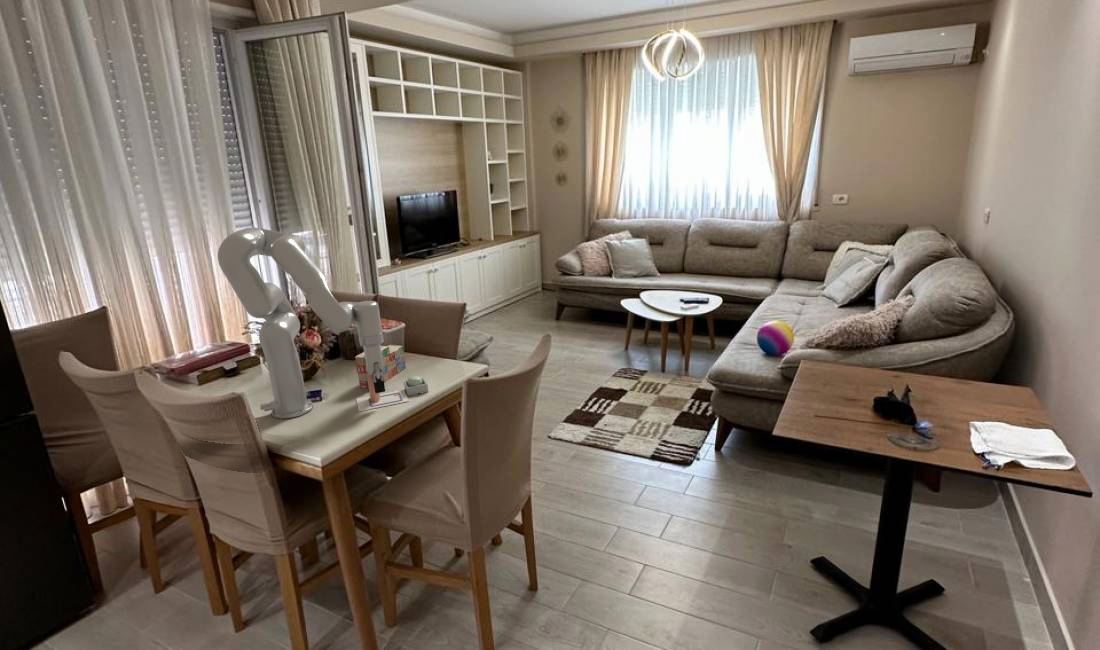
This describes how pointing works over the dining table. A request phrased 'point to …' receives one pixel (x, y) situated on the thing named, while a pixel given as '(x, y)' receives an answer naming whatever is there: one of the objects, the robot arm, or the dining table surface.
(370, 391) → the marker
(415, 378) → the button
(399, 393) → the sheet
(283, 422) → the dining table surface
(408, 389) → the button housing
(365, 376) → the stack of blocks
